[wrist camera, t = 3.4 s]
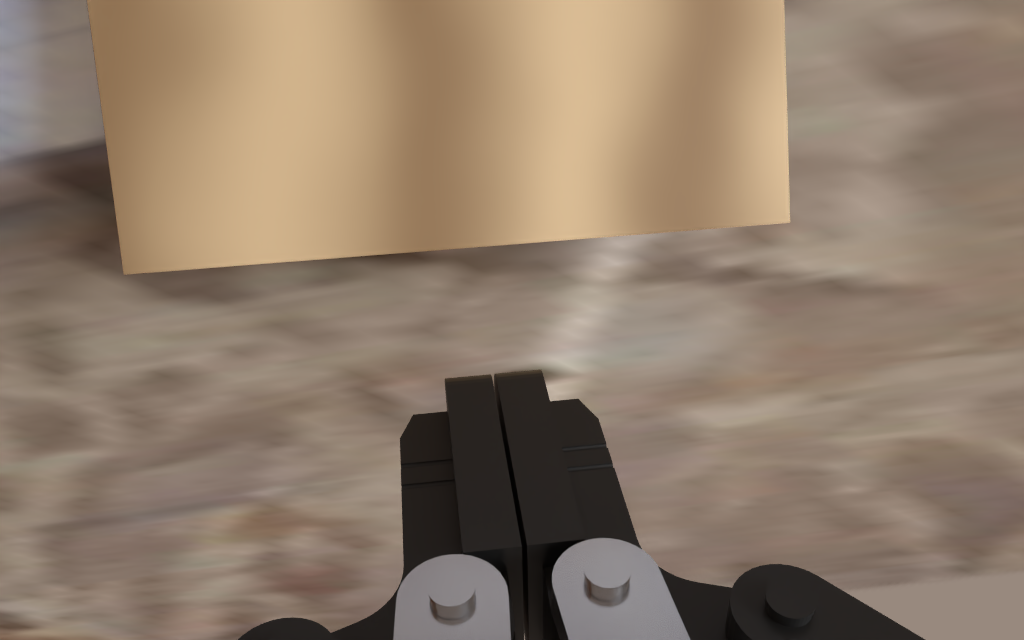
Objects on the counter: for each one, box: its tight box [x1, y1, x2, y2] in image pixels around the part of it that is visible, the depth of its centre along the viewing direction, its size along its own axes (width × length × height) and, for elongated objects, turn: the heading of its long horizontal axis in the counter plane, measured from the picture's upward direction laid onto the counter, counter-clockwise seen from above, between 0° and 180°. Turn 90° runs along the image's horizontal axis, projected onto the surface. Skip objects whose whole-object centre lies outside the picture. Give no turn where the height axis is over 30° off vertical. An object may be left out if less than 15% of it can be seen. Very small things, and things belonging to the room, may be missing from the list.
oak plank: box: [87, 0, 790, 275], centre depth 22 cm, size 16×8×2 cm, turn 92°
